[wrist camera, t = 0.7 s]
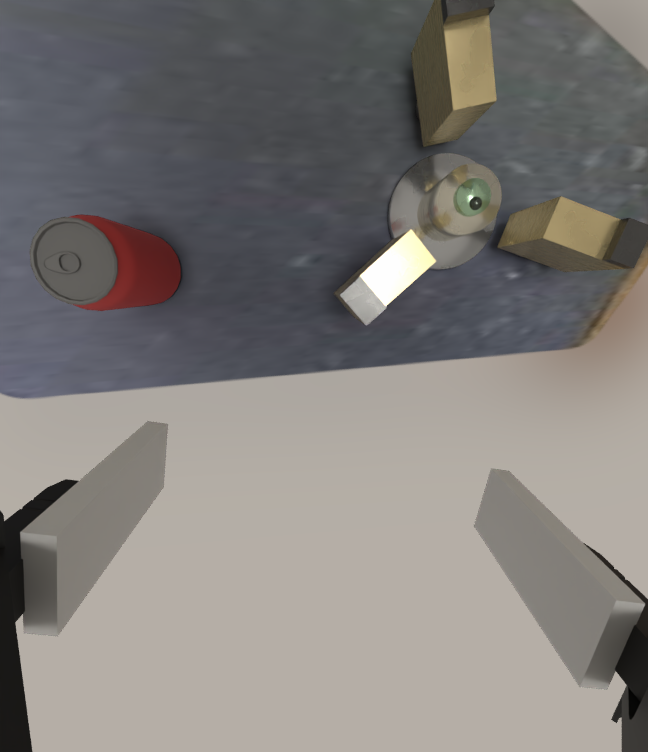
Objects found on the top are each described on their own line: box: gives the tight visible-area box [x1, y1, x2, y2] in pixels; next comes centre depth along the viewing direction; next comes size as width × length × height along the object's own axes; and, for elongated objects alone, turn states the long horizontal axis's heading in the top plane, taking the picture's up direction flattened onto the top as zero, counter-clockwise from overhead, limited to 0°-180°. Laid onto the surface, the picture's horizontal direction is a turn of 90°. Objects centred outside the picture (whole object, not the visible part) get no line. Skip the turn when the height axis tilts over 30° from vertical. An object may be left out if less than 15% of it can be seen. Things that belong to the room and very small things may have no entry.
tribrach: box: [388, 103, 522, 270], centre depth 33 cm, size 18×16×8 cm
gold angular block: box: [411, 0, 496, 147], centre depth 28 cm, size 7×3×8 cm, turn 12°
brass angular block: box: [497, 196, 648, 272], centre depth 31 cm, size 7×3×8 cm, turn 72°
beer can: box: [30, 215, 181, 311], centre depth 31 cm, size 7×7×12 cm
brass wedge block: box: [333, 229, 436, 326], centre depth 31 cm, size 7×3×8 cm, turn 132°
